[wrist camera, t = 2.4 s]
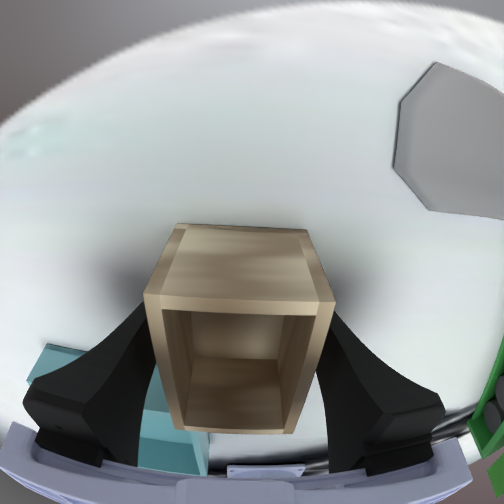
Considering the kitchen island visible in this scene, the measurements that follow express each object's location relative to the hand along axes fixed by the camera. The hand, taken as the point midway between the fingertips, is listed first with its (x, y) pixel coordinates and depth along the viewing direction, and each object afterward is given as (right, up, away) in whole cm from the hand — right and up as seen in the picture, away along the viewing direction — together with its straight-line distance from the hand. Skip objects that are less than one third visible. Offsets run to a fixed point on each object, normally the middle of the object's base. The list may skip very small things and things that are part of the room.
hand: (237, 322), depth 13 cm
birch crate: (0, +1, +1) cm, 2 cm away
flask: (+10, +8, -2) cm, 13 cm away
